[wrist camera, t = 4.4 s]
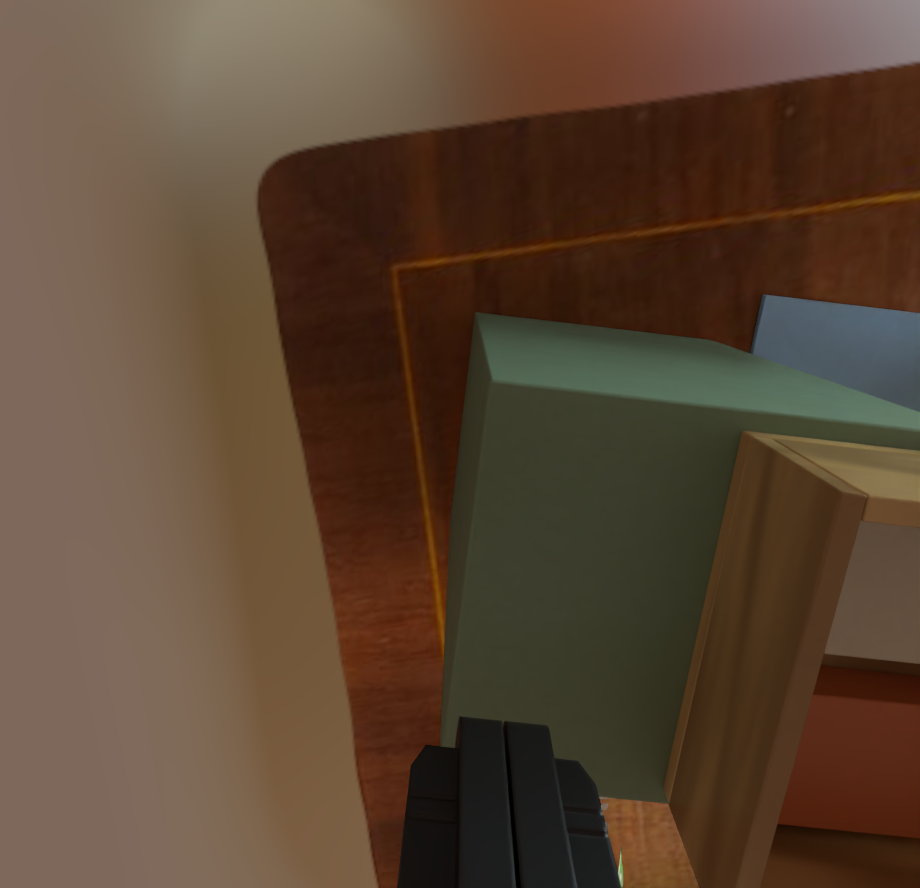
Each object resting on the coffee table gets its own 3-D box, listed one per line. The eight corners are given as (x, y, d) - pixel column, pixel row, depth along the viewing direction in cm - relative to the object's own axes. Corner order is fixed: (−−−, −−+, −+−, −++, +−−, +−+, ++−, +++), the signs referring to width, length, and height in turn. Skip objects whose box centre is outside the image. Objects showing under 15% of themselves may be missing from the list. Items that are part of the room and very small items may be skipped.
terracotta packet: (731, 781, 19) (752, 822, 17) (762, 658, 18) (787, 691, 16) (920, 800, 19) (956, 843, 17) (960, 679, 18) (1001, 714, 17)
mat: (720, 485, 38) (723, 488, 38) (762, 294, 36) (765, 294, 35) (905, 506, 38) (909, 509, 38) (959, 318, 36) (965, 318, 36)
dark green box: (450, 518, 39) (438, 781, 19) (474, 311, 36) (489, 379, 17) (670, 542, 39) (875, 826, 20) (712, 340, 36) (997, 438, 17)
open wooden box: (661, 788, 19) (720, 946, 15) (741, 429, 17) (840, 492, 12) (951, 818, 20) (1095, 983, 15) (1073, 468, 17) (1287, 542, 13)
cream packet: (771, 621, 18) (797, 652, 16) (806, 481, 17) (837, 501, 15) (972, 643, 18) (1015, 675, 16) (1018, 504, 17) (1067, 527, 15)
